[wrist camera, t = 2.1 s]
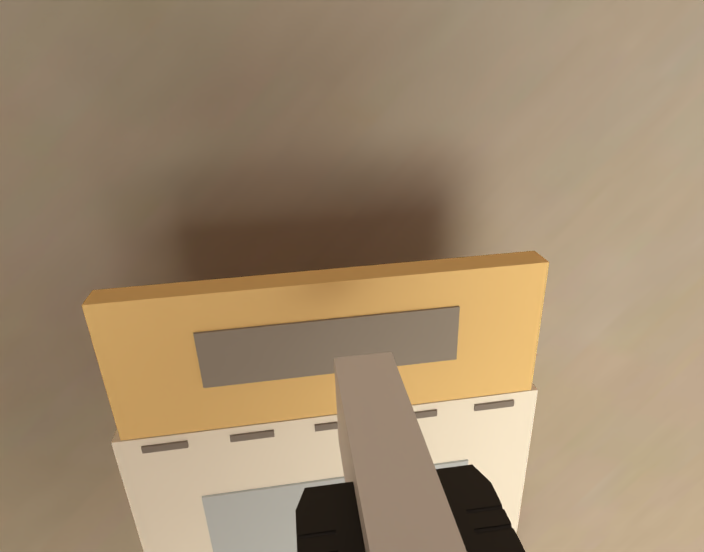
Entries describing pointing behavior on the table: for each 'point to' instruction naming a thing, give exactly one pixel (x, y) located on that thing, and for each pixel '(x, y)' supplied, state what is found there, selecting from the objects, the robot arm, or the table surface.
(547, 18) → the table surface
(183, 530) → the cream box
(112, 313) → the tan flat board
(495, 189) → the table surface
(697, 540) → the table surface
